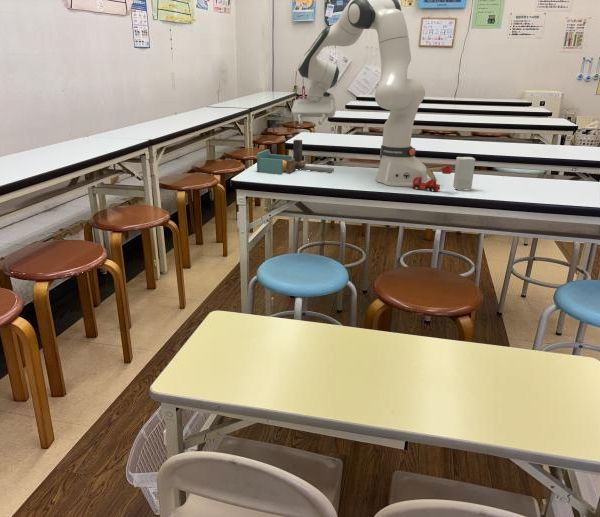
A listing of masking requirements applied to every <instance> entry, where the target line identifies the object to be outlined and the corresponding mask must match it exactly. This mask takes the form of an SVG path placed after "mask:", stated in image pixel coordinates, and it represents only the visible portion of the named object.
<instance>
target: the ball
mask: <svg viewBox="0 0 600 517" xmlns="http://www.w3.org/2000/svg"><path fill="white" fill-rule="evenodd" d="M284 172H287V161H285V160H283V173H284Z"/></svg>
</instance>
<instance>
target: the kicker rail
mask: <svg viewBox="0 0 600 517" xmlns="http://www.w3.org/2000/svg"><path fill="white" fill-rule="evenodd" d="M295 169H299V170H298V171H301V170H310V171H309V172H312V171H317V172H316V173H323V172H328V173H327V174H332V173H333V172H334V171H335V168H334V167H323V166H313V165H305V166H303V167H298V166H295ZM300 169H301V170H300ZM332 171H333V172H332Z"/></svg>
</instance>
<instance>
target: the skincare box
mask: <svg viewBox="0 0 600 517" xmlns="http://www.w3.org/2000/svg"><path fill="white" fill-rule="evenodd" d="M455 158H456V159H455V165H454V166H455V167H454V177H453V185H452V187H454V188H455V189H471V190H472V187H473V179H474V173H475V165H476V164H475V163H476V158H474V157H472V156H457V157H455ZM454 188H453V189H454ZM455 189H454V190H455Z"/></svg>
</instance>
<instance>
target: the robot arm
mask: <svg viewBox="0 0 600 517" xmlns="http://www.w3.org/2000/svg"><path fill="white" fill-rule="evenodd" d="M364 30H375V31H376V33H377V40H378V48H379V55H380V65H381V68H380V79H379V84H378V85H377V88H376V89H375V92H374V99H375V102H376V104H377V105H378V107H380V108H381V109H384V110H387V111H390V112H389V115H388V118H387V119H386V121H385V122H384V124H383V131H382V143H381V145H380V153H379V157H380V158H379V159H380V161H379V166H378V171H377V175H376V176H375V177H376V178H375V181H376V182H379V183H381V184H383V185H385V186H388V187H389V186H391V187H392V186H393V187H410V188H412V187H413V180H414V178H416V177H422V179H421V183H426V182H428V181H430V180H431V179H430V177H429V176H428V174H427V173H426V171H427V170H428V169H427V167H426V165H425V164H424V163H423V162H422V161H420V160H419V159H418V158H417V157H416V156H415V155H416V148H415V147H413V146H412V145H411V143H412V136H413V127H414V123H415V119H416V117H417V116H416V115H417V113H418V109H419V107H420V105H421V103H422V102H423V100H424V98H425V95H426V90H425V87H424V85H423V84H422V82H421V81H418V80H416V79H413V78H408V68H409V65H410V63H411V62H412V56H411V55H412V54H411V47H410V46H411V45H410V40H409V39H410V38H409V33H408V27H407V23H406V19H405V17H404V14H403V12H402V8H401V5H400V2H399V0H349V2H348V3H347V5H345V7H344V9H343V10H342V12H341V14H340V15H339V18H338V20H336V22H334V24H332V25H327V26H326V27H325V28H323V30H321V32H320V33H319V35H318V36H317V37H316V39H315V40H314V42H313V43H312V44H311V46H310V47H309V49H308V50H307V51H306V52H305V54H304V55H303V56H302V57H301V58H300V60H299V61H298V66H297V72H298V73H299V75H300V76H301V77H302V78H305V79H310V84H309V85H310V87H309V88H308V90H307V95H306V97H305V98H304V97H302V98H300V97H298V98H297V99H294V101H293V105H292V108H291V112H290V113H291V115H292V116H293V117H294V118H298V124H299V125H303V124H304V120H303V118H320V119H318V121H317V122H318V123H317V124H318V125H323V123H324V121H326V119H327V118H334V117H335V115H336V99H335V96H334V94H333V93H331V92H328V90H330V89H332V88H334V86H336V84H337V83H338V81H339V80H338V79H339V75H340V70H339V69H340V68H339V67H338V65H337V64H335V63H332V62H331V61H328V60H325V59H322V58H320V57H318V56H319V54H320V53H321V52H322V51H323V49H324V48H326V47H349V46H353V45H354V44H355V43H357V41H358V40H359V39H360V38H361V36H362V35H363V32H364Z"/></svg>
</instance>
